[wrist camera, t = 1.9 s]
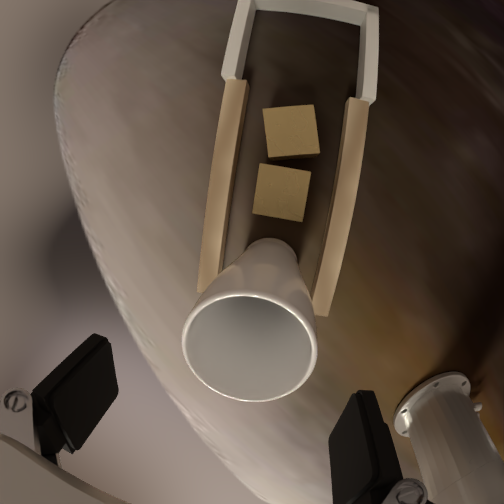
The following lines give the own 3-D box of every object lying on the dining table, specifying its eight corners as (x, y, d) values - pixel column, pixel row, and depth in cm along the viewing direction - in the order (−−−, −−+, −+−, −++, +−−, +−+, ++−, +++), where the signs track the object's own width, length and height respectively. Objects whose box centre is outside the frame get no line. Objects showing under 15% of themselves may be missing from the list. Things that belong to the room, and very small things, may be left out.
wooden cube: (307, 173, 25) (311, 171, 21) (300, 215, 26) (302, 222, 22) (264, 165, 25) (259, 163, 21) (257, 208, 26) (252, 213, 22)
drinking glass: (238, 297, 28) (193, 400, 14) (231, 230, 27) (166, 289, 12) (306, 294, 27) (317, 403, 13) (303, 226, 26) (321, 285, 11)
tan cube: (310, 115, 23) (313, 104, 19) (315, 157, 24) (320, 153, 20) (266, 119, 24) (262, 109, 20) (271, 161, 25) (268, 157, 21)
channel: (363, 107, 22) (369, 101, 20) (325, 307, 27) (327, 316, 25) (231, 85, 23) (226, 78, 21) (202, 284, 28) (196, 291, 27)
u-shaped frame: (371, 21, 19) (378, 7, 16) (366, 108, 22) (375, 99, 19) (246, 1, 20) (241, -14, 17) (228, 85, 23) (220, 74, 20)
